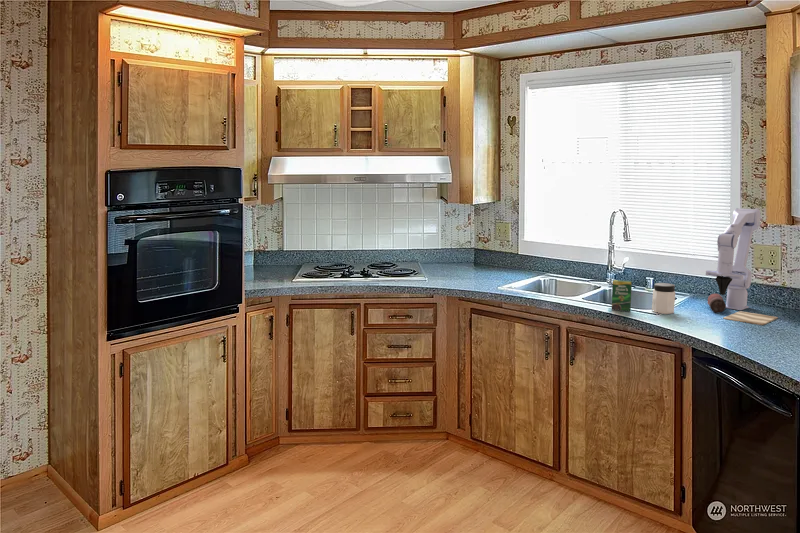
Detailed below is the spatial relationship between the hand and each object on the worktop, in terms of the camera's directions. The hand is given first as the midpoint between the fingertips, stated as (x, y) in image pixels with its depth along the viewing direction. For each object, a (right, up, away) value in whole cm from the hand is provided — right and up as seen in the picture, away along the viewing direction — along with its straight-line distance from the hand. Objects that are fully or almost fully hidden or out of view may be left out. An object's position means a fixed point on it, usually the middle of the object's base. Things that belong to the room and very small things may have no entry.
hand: (722, 294), depth 280 cm
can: (0, -5, +5) cm, 7 cm away
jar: (-23, -8, +6) cm, 25 cm away
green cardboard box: (-40, -8, +8) cm, 42 cm away
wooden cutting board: (+10, -10, -4) cm, 14 cm away
